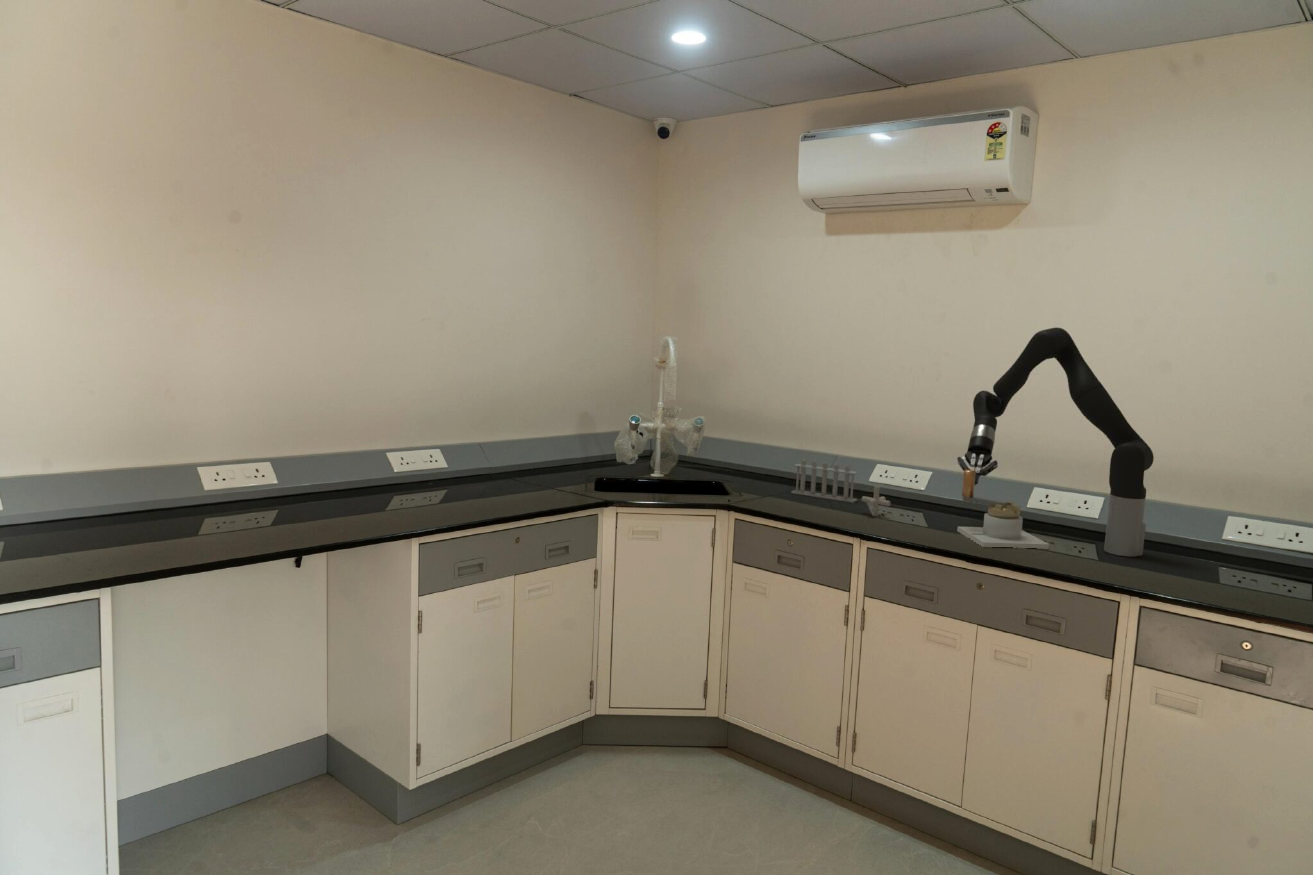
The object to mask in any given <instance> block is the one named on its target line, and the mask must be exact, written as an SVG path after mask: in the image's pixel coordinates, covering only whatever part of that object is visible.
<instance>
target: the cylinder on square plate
mask: <svg viewBox="0 0 1313 875" xmlns="http://www.w3.org/2000/svg"><path fill="white" fill-rule="evenodd" d="M1023 519H1024V517H1022V516H1021V515H1020V516H1019V518H1013V519H1011V518H1000V517H995V516H991V515H989V514H988V512H985V513H984V516H983V526H981V527H980V526H957V529H956V530H957V532H958V533H959V534H961V535H962V536H964V537H965V538H967V539H969V538H970V539H969V540H971V541H972V540H973V541H972V542H974V543H975V542H976V543H975V544H977V545H978V544H979V546H980V545H981V546H980V547H982V548H992V547H1013V548H1012V549H1026V548H1037V549H1036V550H1049V548H1050V544H1049V543H1048V542H1046V541H1044V540H1042V539H1040V538H1039V537H1036V536H1035V535H1032V534H1030V533H1028V532H1026V531H1025V530H1023V522H1024V521H1023ZM1016 547H1017V548H1016Z"/></svg>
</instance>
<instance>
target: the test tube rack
mask: <svg viewBox="0 0 1313 875" xmlns="http://www.w3.org/2000/svg"><path fill="white" fill-rule="evenodd" d="M822 463H823V464H822V466H818V461H816V460H812V463H811V465H809V464H807V459H801V463H796V464H793V465H792V466H793V467H796V481H795V482H796V483H795V484H796V485H795V486H796V487H795V490H791V491H790V493H791V494H795V495H801V496H807V497H814V498H818V499H819V498H820V499H827V500H833V501H839V502H845V503H850V504H851V503H856V502H857V501H858V499H857V498H854V497H853V493H854V478H855V475H857V474H859V473H860V472H859V471H854V470H851V465H848V464H846V465H845V468H844V469H840V465H839V464H838V463H834V465H833V468H832V467H829V466H828V465H829V463H828V462H822ZM800 468H801V469H800ZM807 469H811V479H810V480H811V481H810V491H807V490H806V489H805V488H806V476H807V475H806V473H807V471H806V470H807ZM817 470H820V471H822V478H821V493H820V492H816V484H817ZM828 472H833V477H832V480H833V481H832V495H831V494H827V485H828V484H827V482H828ZM839 473H841V474H844V478H843V479H844V481H843V496H840V495H838V486H839V485H838V484H839ZM850 475H851V483H850ZM799 483H800V484H799ZM799 485H800V486H799ZM849 488H850V489H849ZM849 490H850V491H849ZM849 492H850V495H849Z"/></svg>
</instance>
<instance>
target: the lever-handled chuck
mask: <svg viewBox="0 0 1313 875" xmlns="http://www.w3.org/2000/svg"><path fill="white" fill-rule="evenodd" d="M975 473H976V470H975V471H974V470H964V471H963V477H962V490H961V497H962V501H963V502H967V503H974V504H978V505H979V504H980V505H984V506H988V511H987V513H988V514H989V515H991V516H995V517H1000V518H1011V519H1013V518H1019V516H1021V515H1020V514H1021V505H1017V504H1016V505H1015V504H1014V503H1015V502H1012V501H1006V502H1003V501H999V500H992V499H986V498H980V497H975V496H974V492H975V486H974V484H975Z"/></svg>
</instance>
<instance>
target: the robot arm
mask: <svg viewBox="0 0 1313 875" xmlns="http://www.w3.org/2000/svg"><path fill="white" fill-rule="evenodd" d="M1050 359H1055V360H1056V361H1057V362H1058V364H1059V365H1060V366H1061V368H1062V370H1064V372H1065V375H1066V378H1067V384H1068V386H1067V387H1068V392H1069V396H1070V398H1071V401H1073V403H1074V404H1075V405H1076V407H1077V408H1078V410H1079V411H1080V413H1081V414H1082V415H1083V417H1085V419H1086V420H1088V422H1090V423H1091V424H1092V425H1094V427H1096V428H1097V429H1098V430H1099V431H1100V432H1102V433H1103V435H1104V436H1105V437H1106V438H1107V439H1108V441H1109V442H1110V443H1111V444H1112V446H1113V448H1114V449H1113V451H1112V453H1111V456H1110V461H1109V462H1110V463H1109V474H1108V475H1109V476H1108V477H1109V478H1108V483H1109V484H1108V485H1109V488H1110V491H1109V492H1110V493H1109V499H1108V500H1109V502H1108V511H1107V518H1106V520H1107V521H1106V527H1105V528H1106V529H1105V536H1104V537H1105V539H1104V547H1103V551H1104V552H1106V553H1108V554H1111V555H1114V556H1115V555H1116V556H1119V557H1120V556H1122V557H1138V556H1141V557H1142V556H1143V553H1144V544H1145V535H1146V529H1147V528H1146V527H1147V525H1146V523H1144V516H1145V506H1146V498H1147V488H1146V487H1145V484H1144V479H1145V478H1144V477H1145V471H1147V470H1149V469H1150V468H1151V467H1152V465H1153V464H1154V459H1155V457H1154V453H1153V451H1152V448H1151V447H1150V446H1149V445H1148V444H1147V442H1146V441H1145V440H1144V439H1143V438H1142V437H1141V436H1140V434H1139V433H1138V432H1137V431H1136V430H1135V429H1134V428H1133V427H1132V426H1131V424H1130V423H1129V422H1128V420H1127V419H1126V417H1125V416H1124V414H1123V412H1122V411H1121V410H1120V408H1119V406H1117V404H1116V402H1115V401H1114V400H1113V398H1112V396H1111V395H1110V393H1109V392H1108V391H1107V390H1106V388H1105V386H1104V385H1103V384H1102V382H1101V381H1100V380H1099V379H1098V378H1097V376H1096V375H1095V373H1094V372H1093V370H1092V369H1091V367H1090V366H1089V364H1088V363H1087V362H1086V361H1085V358H1084V357H1083V356H1082V354H1081V352H1080V350H1079V348H1078V347H1077V345H1076V342H1075V341H1074V340H1073V338H1072V336H1071V335H1070V333H1069V332H1068V331H1067V330H1065V329H1064V328H1062V327H1051V328H1047V329H1043V330H1039V331H1037V332H1036V333H1034V335H1033V336H1032V337H1031V339H1030V340H1029V341H1028V343H1027V345H1026V346H1025V347H1024V349H1023V350H1022V352H1021V353H1020V354H1019V356H1018V357H1017V359H1016V360H1015V361H1014V363H1013V364H1012V365H1011V366H1010V367H1009V369H1008V370H1006V372H1005V373H1004V374H1003V375H1002V376H1001V377H1000V378H999V379H998V380H996V382H995V383H994V384H993V386H992V390H993V393H992V392H990V391H989V390H980V391H979V392H977V393H976V394H975V395H974V398H973V402H972V408H973V416H974V423H973V427H972V431H971V433H970V436H969V437H970V438H969V441H968V442H969V443H968V446H967V451H966V453H965V454H964V456H958V457H957V464H958V465H959V467H960V468H961V469H962V471H963V472H964V470H974V471H976V473H975V484H974V487H975V486H976V485H978V483H979V480H980V477H981V476H983V477H986V476H987V475H989V474H990V473H991V472H993V471H994V470H996V469H997V468H998V467H999V464H998V460H994V459H993V450H994V445H995V441H996V440H995V439H996V430H997V425H998V420H997V418H999V417H1001V416H1002V415H1003V414H1004V413H1005V412H1006V409H1007V407H1008V405H1009V403H1010V401H1011V400H1012V398H1013V396H1015V395H1016V394H1017V393H1018V392H1019V391H1020V390H1021V389H1022V388H1023V387H1024V385H1025V384H1026V383H1027V382H1028V379H1029V377H1030V374H1031V372H1032V371H1034V369H1035V368H1036V367H1037V366H1039V365H1040V364H1041V363H1043V362H1045V361H1047V360H1050ZM966 462H967V463H968V465H969V466H968V465H967V463H966ZM969 467H970V468H969Z"/></svg>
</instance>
